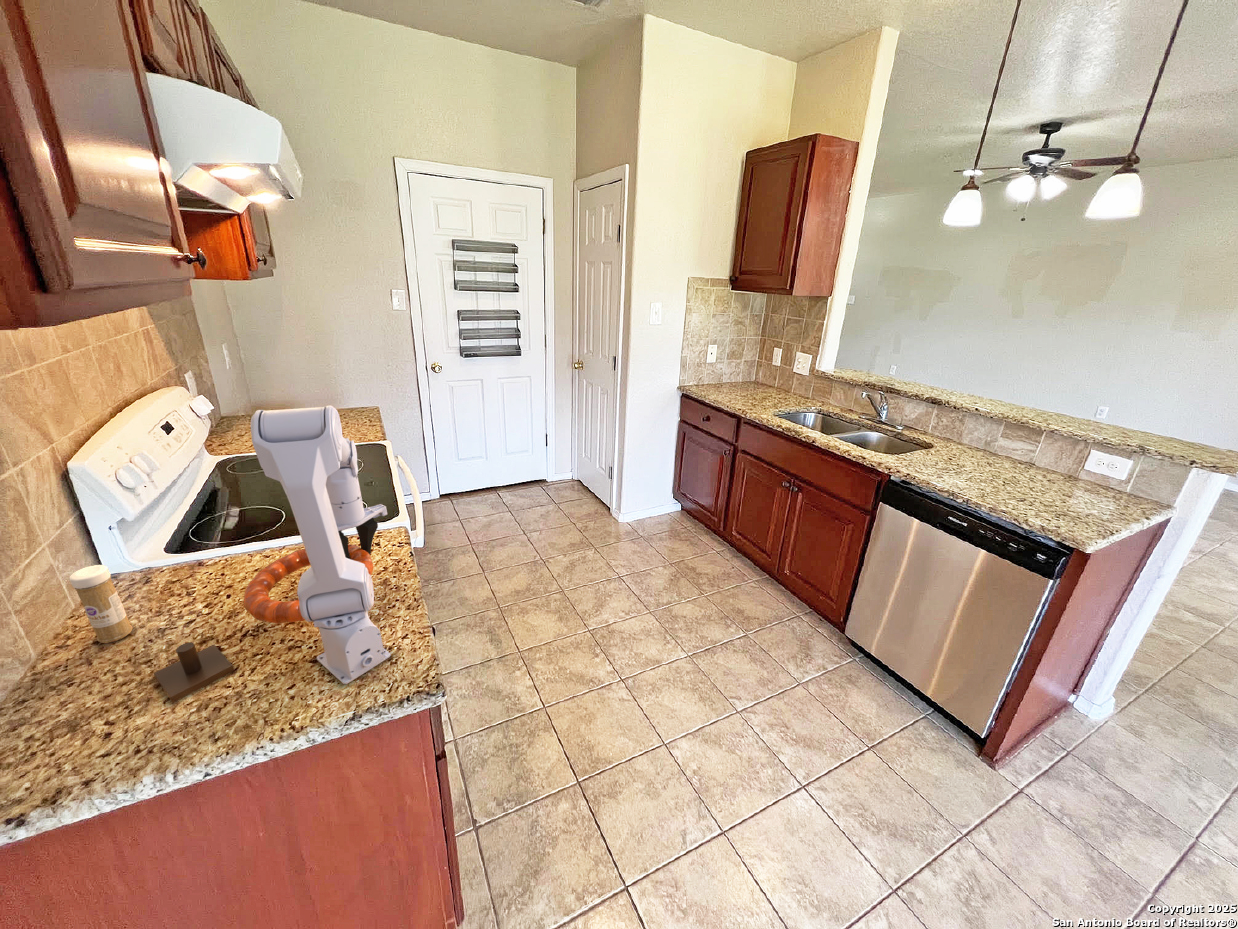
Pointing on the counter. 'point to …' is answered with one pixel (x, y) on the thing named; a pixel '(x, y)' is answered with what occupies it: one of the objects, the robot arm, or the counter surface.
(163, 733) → the counter surface
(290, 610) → the ring
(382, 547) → the counter surface
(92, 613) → the sprinkles bottle
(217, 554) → the counter surface
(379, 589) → the counter surface
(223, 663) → the stand
